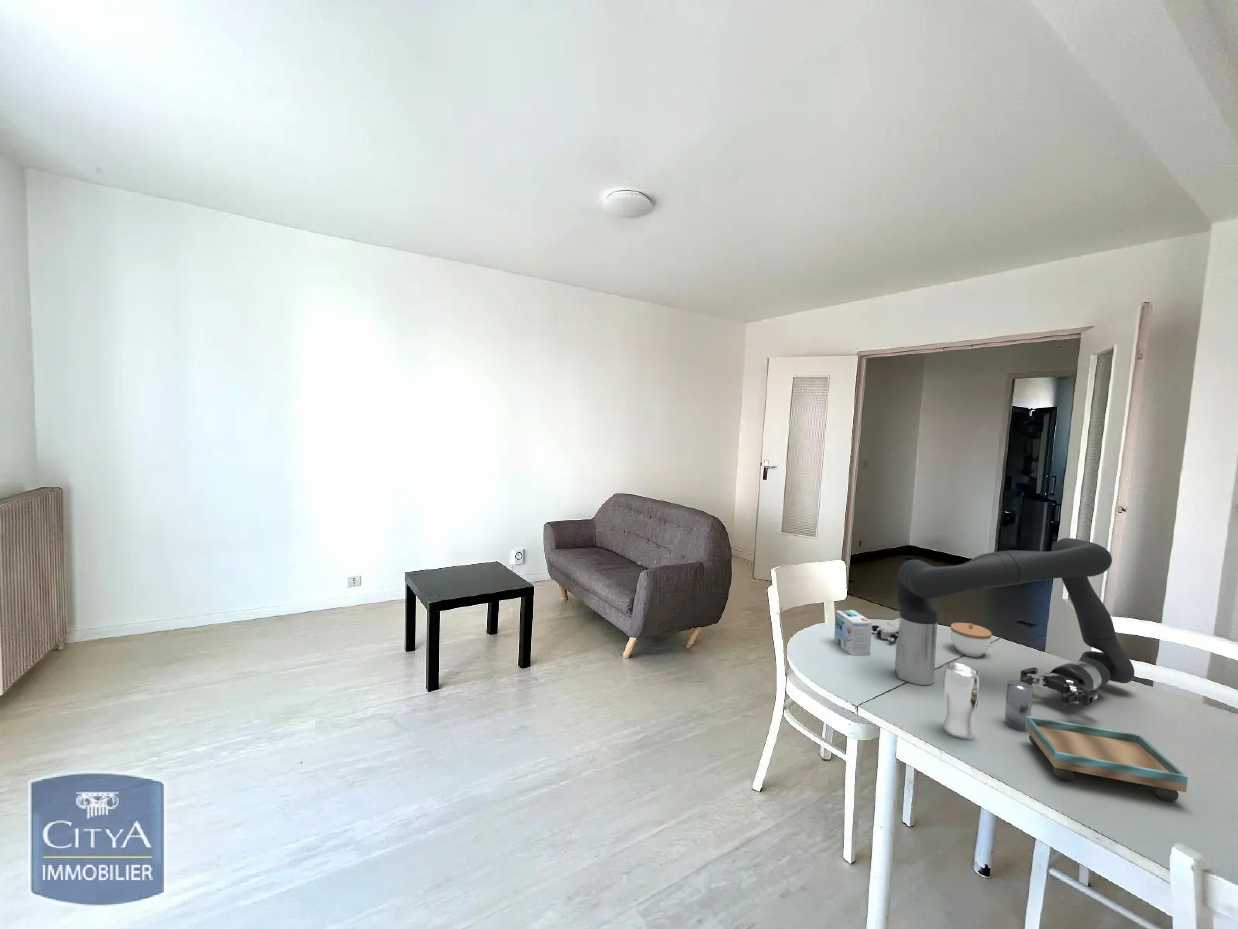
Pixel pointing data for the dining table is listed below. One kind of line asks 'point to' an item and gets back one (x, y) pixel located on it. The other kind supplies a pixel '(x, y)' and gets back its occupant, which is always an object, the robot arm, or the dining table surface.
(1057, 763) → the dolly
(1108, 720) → the dining table surface
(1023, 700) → the metal part
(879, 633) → the robot toy
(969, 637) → the lidded jar
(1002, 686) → the dining table surface
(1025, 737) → the dining table surface
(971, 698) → the beer glass
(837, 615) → the light bulb box
